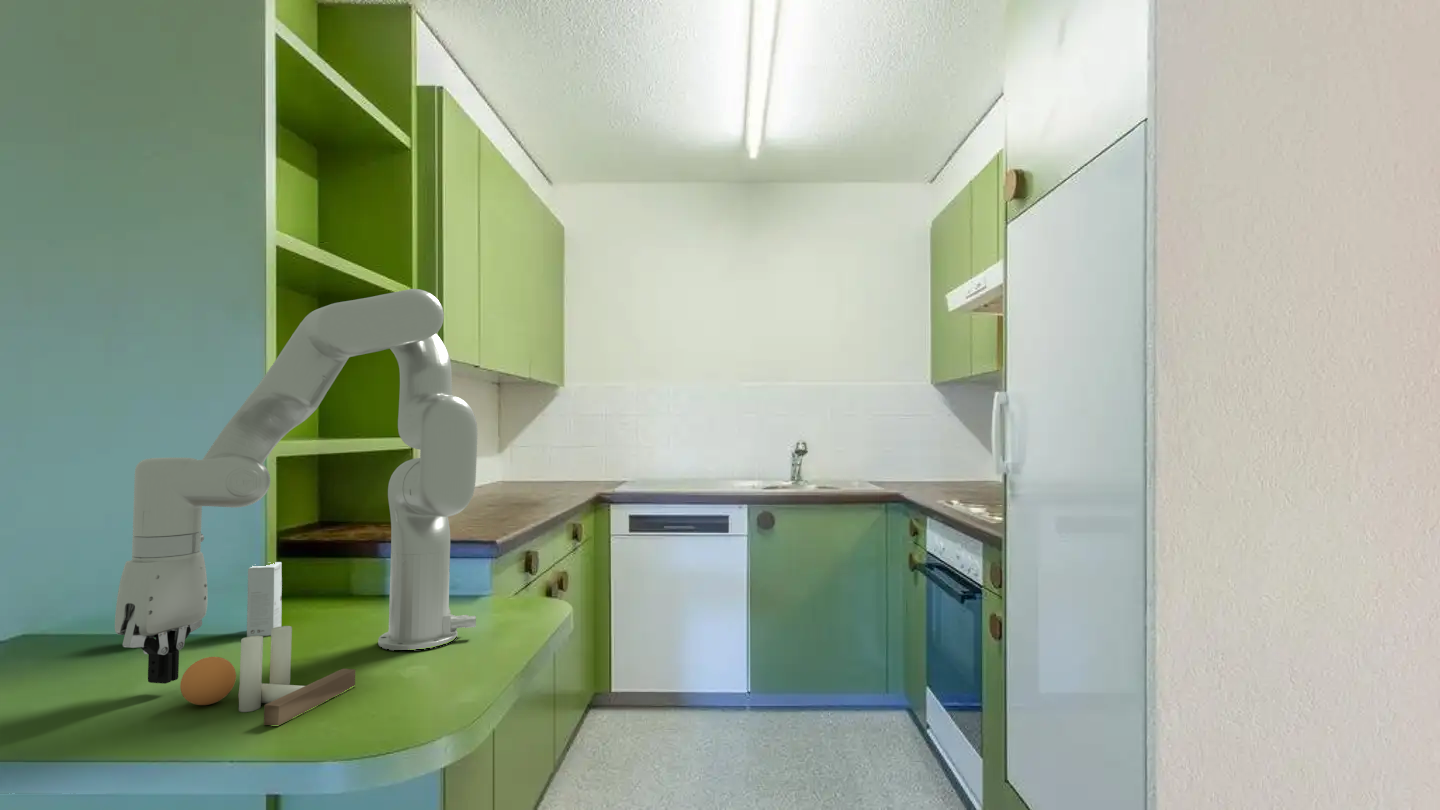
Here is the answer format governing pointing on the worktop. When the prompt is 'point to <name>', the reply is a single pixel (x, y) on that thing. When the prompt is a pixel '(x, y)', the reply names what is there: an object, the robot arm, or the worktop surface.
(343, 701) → the worktop surface
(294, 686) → the pin front
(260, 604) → the skincare box
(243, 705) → the pin left
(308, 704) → the brown wooden bar
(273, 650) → the pin right
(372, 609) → the worktop surface
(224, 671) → the brown egg
